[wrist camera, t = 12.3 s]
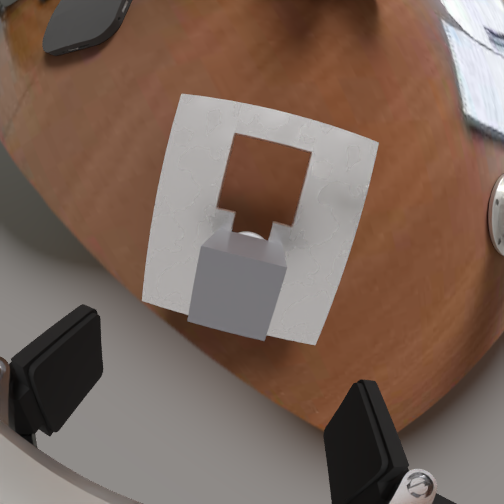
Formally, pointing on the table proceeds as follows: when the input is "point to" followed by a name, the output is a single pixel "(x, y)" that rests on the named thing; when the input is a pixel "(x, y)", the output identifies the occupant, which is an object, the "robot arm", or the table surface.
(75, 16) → the media streaming box
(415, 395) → the table surface
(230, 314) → the peg
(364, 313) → the table surface
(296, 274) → the miniature table
